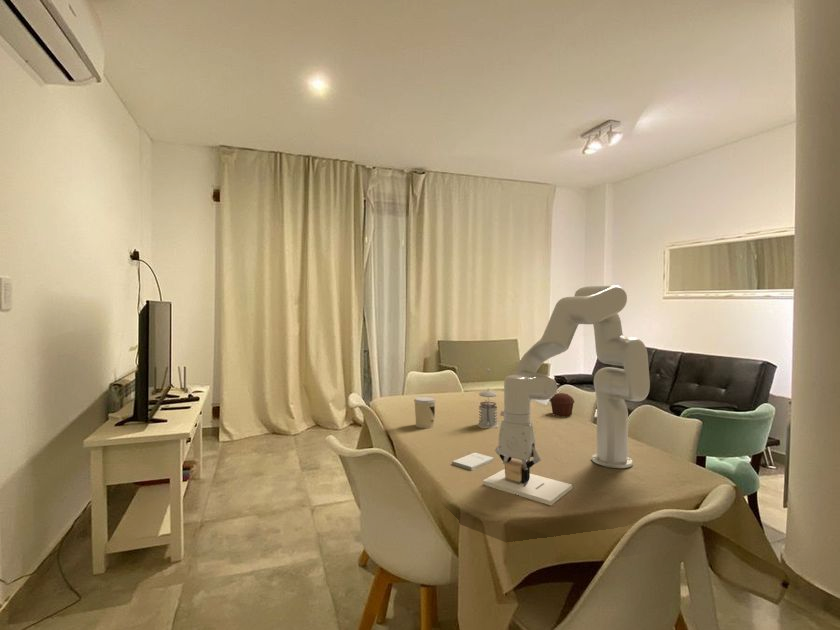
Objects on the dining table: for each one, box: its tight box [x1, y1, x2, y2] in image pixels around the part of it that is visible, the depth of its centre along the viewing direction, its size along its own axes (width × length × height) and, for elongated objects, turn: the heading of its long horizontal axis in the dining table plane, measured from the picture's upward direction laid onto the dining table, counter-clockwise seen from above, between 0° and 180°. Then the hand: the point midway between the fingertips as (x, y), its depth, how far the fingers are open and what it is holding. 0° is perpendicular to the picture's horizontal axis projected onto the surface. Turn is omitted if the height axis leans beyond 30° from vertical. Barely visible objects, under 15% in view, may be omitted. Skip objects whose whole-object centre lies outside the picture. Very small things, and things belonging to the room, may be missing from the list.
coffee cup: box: [413, 396, 437, 429], centre depth 194 cm, size 9×9×12 cm
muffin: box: [548, 392, 576, 417], centre depth 214 cm, size 12×11×10 cm
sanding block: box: [504, 458, 523, 484], centre depth 130 cm, size 6×4×5 cm
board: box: [482, 468, 573, 506], centre depth 128 cm, size 14×21×1 cm, turn 49°
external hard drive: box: [451, 452, 494, 471], centre depth 148 cm, size 2×8×12 cm
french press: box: [476, 368, 500, 429], centre depth 193 cm, size 10×12×25 cm
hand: (517, 478), depth 130 cm, fingers closed on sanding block, 4 cm apart
